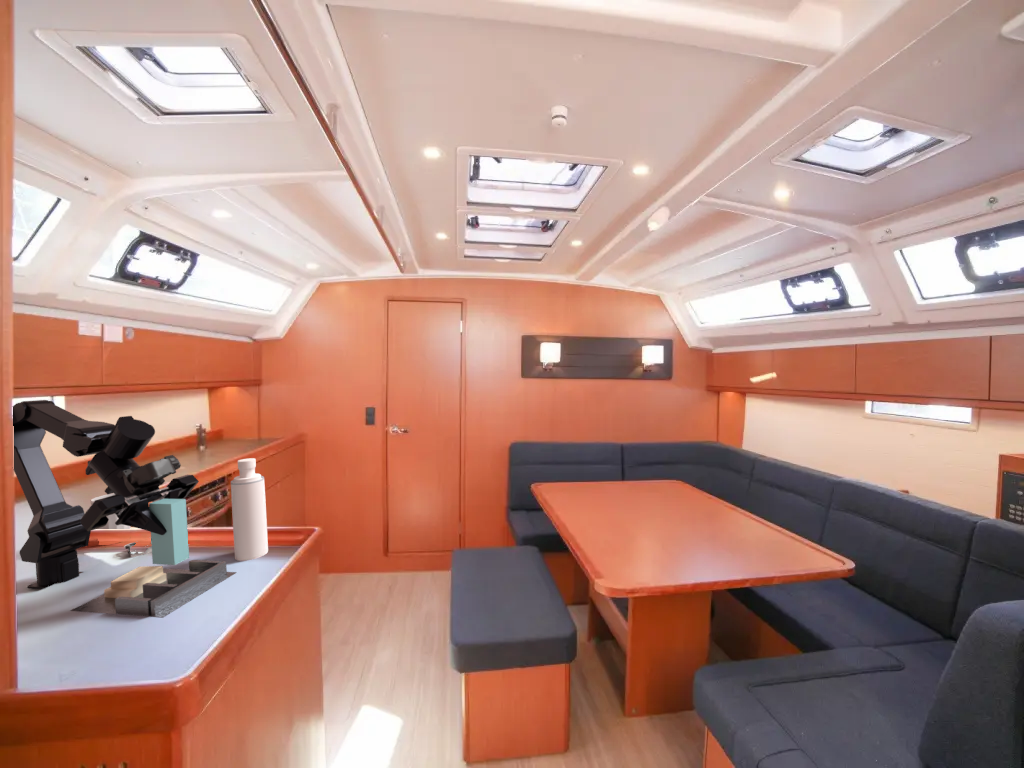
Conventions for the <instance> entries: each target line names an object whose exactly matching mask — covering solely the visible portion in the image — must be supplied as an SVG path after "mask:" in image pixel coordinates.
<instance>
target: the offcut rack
mask: <svg viewBox="0 0 1024 768" xmlns="http://www.w3.org/2000/svg"><path fill="white" fill-rule="evenodd" d="M188 567H189V568H188V569H183V568H182V569H181V568H164V567H163V573H166V578H167V580H166V581H164V582H162V583H160V584H159V583H145V584H143V593H141V594H139V595H138V596H136V597H118V598H107V597H105V594H104V593H103V594H102V595H100V596H97V597H95V598H93V599H91V600H89V601H87V602H85V603H82V604H80V605H79V606H76V607H75V608H73V609H70V610H69V611H70V612H79V613H80V612H83V613H92V614H93V613H95V614H97V613H98V614H109V615H124V616H137V617H150V618H151V617H152V618H165V617H167V616H168V615H170V614H171V613H173V612H175V611H176V610H178V609H180V608H181V607H183V606H184V605H186V604H188V603H189V602H191V601H193V600H194V599H196V598H198V597H199V596H202V595H203V594H204V593H206V592H208V591H209V590H211V589H213V588H214V587H215V586H217V585H219V584H220V583H222V582H224V581H225V580H227V579H229V578H230V577H232V576H233V575H236V574H238V573H237V571H228V570H227V561H226V560H223V561H221V560H207V559H205V560H204V559H191V560H189V561H188Z"/></svg>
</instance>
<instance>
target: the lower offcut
mask: <svg viewBox="0 0 1024 768" xmlns="http://www.w3.org/2000/svg"><path fill="white" fill-rule="evenodd" d="M166 580H167V578H166V573H162V574H161V575H159V576H157V577H156V578H154V579H152V580H150V581H149V582H147V583H159V584H160V583H162V582H164V581H166ZM103 591H104V593H103V594H105V597H107V598H118V597H136V596H138V595H139V594H141V593H143V585H142V586H140V587H138V588H136V589H111V586H109V587H107V588H105V589H104V590H103Z"/></svg>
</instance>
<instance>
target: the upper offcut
mask: <svg viewBox="0 0 1024 768" xmlns="http://www.w3.org/2000/svg"><path fill="white" fill-rule="evenodd" d="M163 568H164V567H163V565H156V566H155V565H153V566H152V565H149V566H148V565H147V566H145V565H143V566H137V567H135V568H134V569H132V570H130V571H128V572H126V573H125V574H123V575H120V576H119V577H117V578H115V579H113V580H111V581H110V587H111V589H136V588H138V587H140V586H142V585H143V584H145V583H147V582H149V581H150V580H152V579H154V578H156V577H157V576H159V575H161V574H162V573H163Z"/></svg>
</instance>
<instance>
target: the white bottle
mask: <svg viewBox="0 0 1024 768" xmlns="http://www.w3.org/2000/svg"><path fill="white" fill-rule="evenodd" d="M256 460H257V459H256V458H254V457H251V458H249V457H248V458H242V459H238V460H237V470H238V471H239V475H237V476H234V477H233V479H232V480H231V481H230V491H231V492H230V493H231V494H230V495H231V510H232V511H231V513H232V528H233V529H232V530H233V531H232V532H233V547H234V550H233V551H234V560H236V561H239V562H240V561H241V562H244V561H245V562H247V561H252V560H255V559H259V558H261V557H263V556H265V555H267V553H268V552H269V543H268V520H267V505H266V502H267V501H266V486H265V476H264V475H262V474H260V473H256V467H257V462H256Z"/></svg>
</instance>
